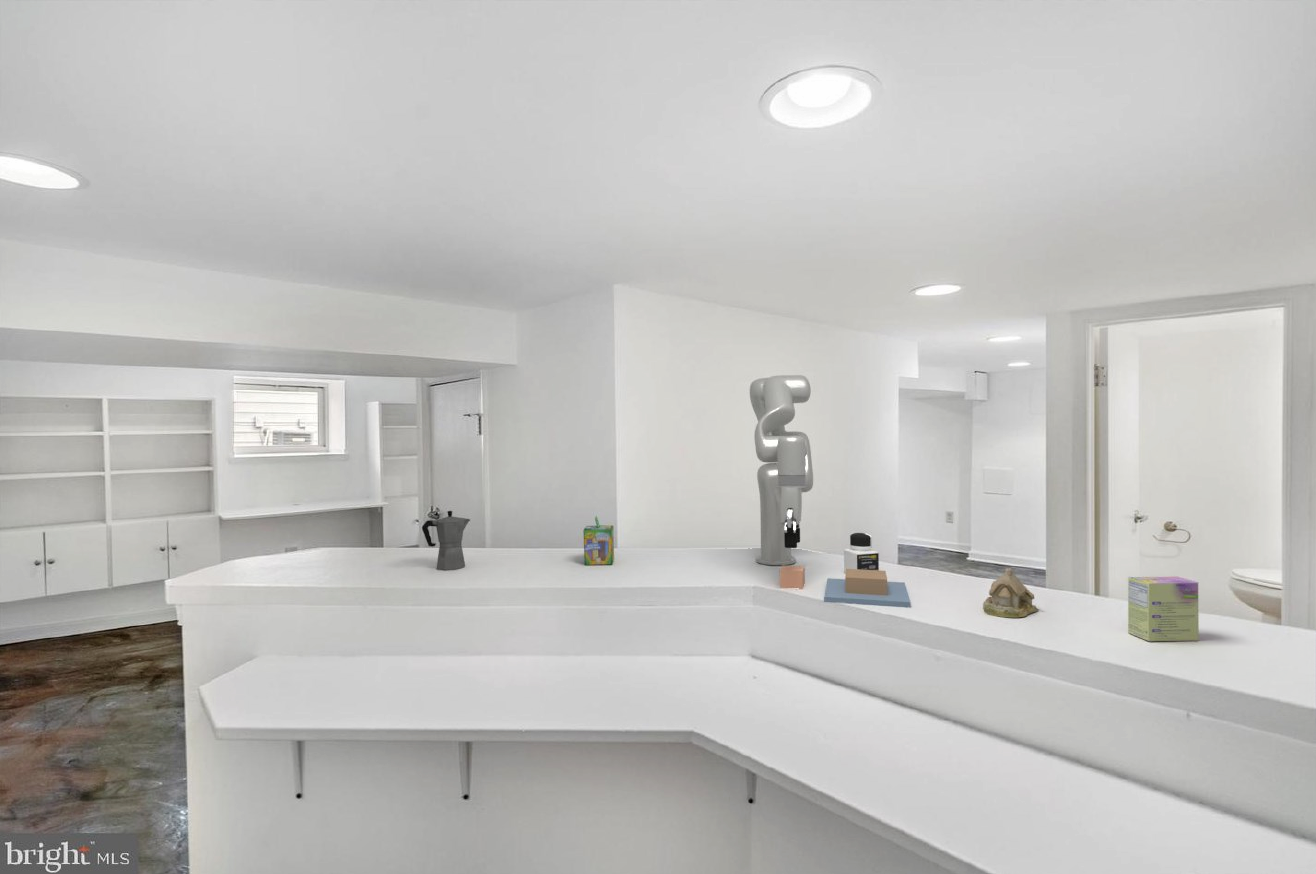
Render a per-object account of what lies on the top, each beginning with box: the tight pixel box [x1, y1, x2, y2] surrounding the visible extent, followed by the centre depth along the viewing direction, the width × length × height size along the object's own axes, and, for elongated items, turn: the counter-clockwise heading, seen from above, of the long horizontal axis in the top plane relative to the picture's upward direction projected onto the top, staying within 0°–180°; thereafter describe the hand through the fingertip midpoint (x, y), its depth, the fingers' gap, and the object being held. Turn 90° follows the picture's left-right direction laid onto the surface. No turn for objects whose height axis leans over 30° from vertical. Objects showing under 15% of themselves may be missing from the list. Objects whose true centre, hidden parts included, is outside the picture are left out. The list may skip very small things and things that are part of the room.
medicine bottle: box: [843, 532, 880, 574], centre depth 189 cm, size 7×7×12 cm
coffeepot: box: [421, 510, 471, 571], centre depth 205 cm, size 15×9×18 cm, turn 129°
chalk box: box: [582, 515, 615, 566], centre depth 210 cm, size 9×9×15 cm
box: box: [1127, 576, 1200, 642], centre depth 132 cm, size 10×6×12 cm, turn 92°
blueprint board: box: [823, 569, 911, 608], centre depth 167 cm, size 20×20×5 cm
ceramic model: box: [982, 567, 1039, 618], centre depth 152 cm, size 14×11×10 cm
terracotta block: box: [779, 565, 806, 590], centre depth 177 cm, size 6×6×5 cm
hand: (792, 545), depth 176 cm, fingers open, 9 cm apart
